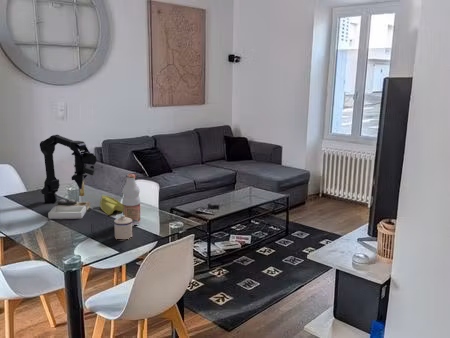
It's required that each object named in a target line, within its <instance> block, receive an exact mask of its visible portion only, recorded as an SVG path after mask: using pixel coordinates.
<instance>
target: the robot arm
mask: <svg viewBox="0 0 450 338" xmlns="http://www.w3.org/2000/svg"><path fill="white" fill-rule="evenodd" d="M58 144H59V145H61V146H64V147H67V148H69V150H71V151H72V153H71V156H74V170H75V171H74V174H73V175H72V176H71V181H74V182H75V183H76V185H77V187H78V190H79V189H82V182H83V180H84V181H85V179H86V178H87V176H88V175H90V176H94V175H95V173H96V168H95V166H94V165H95V164H96V163H97V156H96V155H95V153H94V152H91V151H90V149H89V148H88V146H87V144H86V142H85V141H82V140H72V139H70V138H68V137H64V136H61V135H60V134H53V135H51V136H50V137H48V138H46V139H44V140H42V141H40V142H39V149H40V152H41V153H42V154H43V156H44V158H43V159H44V166H45V167H44V168H45V175H46V176H45V177H46V178H45V180H44V183H43V185H44V186H43V188H42V189H41V190H40V192H41V195H43V199H44V201H43V204H55V203H57V202H58V195H57V192H58V191H59V188H60V186H61V184H60V179H58V178H57V177H56V172H55V165H54V164H55V163H54V153H55V150H56V145H58ZM88 165H91V166H88Z"/></svg>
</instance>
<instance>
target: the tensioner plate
mask: <svg viewBox="0 0 450 338" xmlns="http://www.w3.org/2000/svg"><path fill="white" fill-rule="evenodd" d="M90 204H91V203H90V201H77V200H76V199H73V198H72V199H60V200H57V201H56V205H55V206H86V212H87V211H88V210H89V208H90Z"/></svg>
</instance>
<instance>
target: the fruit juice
mask: <svg viewBox="0 0 450 338" xmlns="http://www.w3.org/2000/svg"><path fill="white" fill-rule="evenodd" d="M125 178H126V181H125V184H124V186H123V187H122V192H121V193H122V194H123V197H122V204H123V212H122V215H125V217H127V218H131V219H132V227H135V226H134V225H137V224H139V223H140V224H141V199H140V192H141V191H140V187H139V186H138V185H137V182H136V174H134V173H127V174H126V175H125ZM140 224H139V225H140ZM137 226H138V225H137Z"/></svg>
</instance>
